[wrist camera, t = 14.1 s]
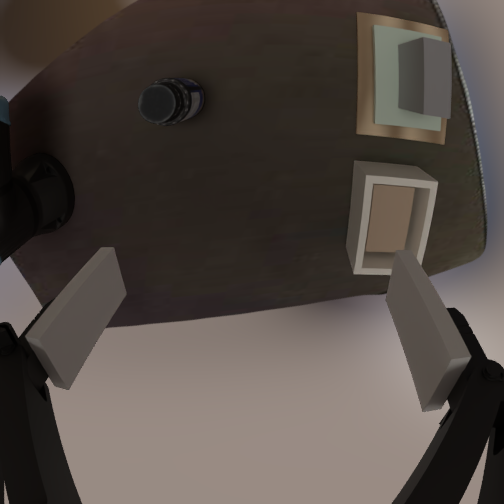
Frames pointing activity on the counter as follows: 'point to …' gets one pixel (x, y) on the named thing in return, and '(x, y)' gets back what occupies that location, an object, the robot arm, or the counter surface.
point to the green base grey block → (411, 78)
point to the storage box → (388, 214)
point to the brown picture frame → (367, 80)
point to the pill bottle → (171, 101)
